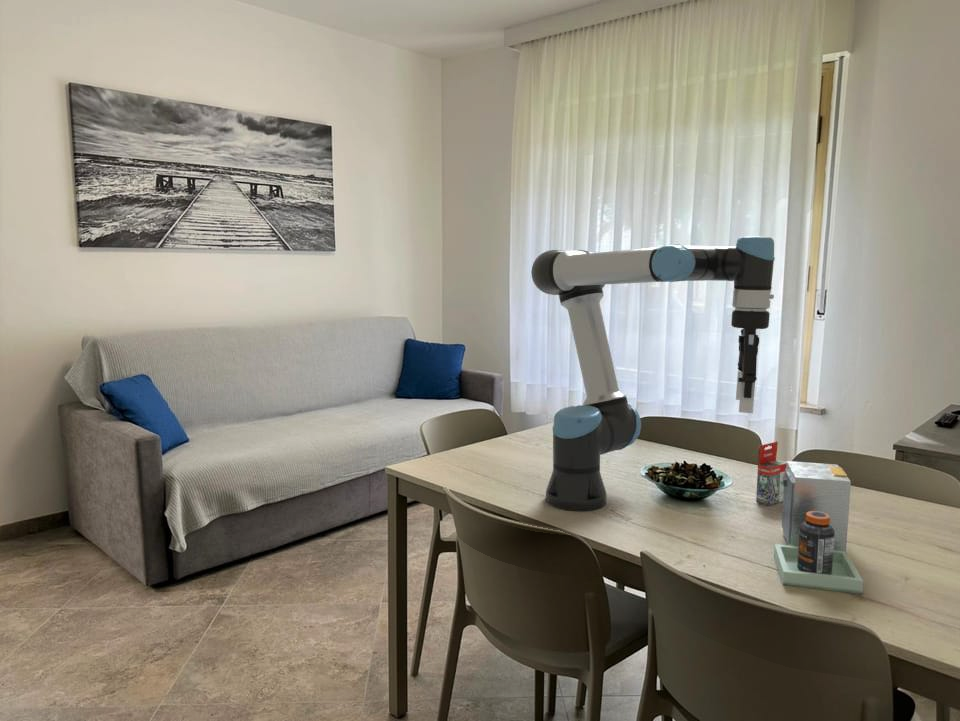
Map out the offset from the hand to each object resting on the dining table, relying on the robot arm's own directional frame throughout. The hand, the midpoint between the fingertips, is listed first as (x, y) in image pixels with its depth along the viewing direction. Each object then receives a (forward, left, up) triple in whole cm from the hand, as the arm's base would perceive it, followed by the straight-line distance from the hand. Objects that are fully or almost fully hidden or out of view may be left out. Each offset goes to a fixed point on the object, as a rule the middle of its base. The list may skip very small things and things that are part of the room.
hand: (743, 406), depth 146 cm
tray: (+12, -21, -28) cm, 37 cm away
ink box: (+9, +20, -28) cm, 36 cm away
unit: (+14, -6, -28) cm, 32 cm away
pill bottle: (+12, -21, -27) cm, 37 cm away
